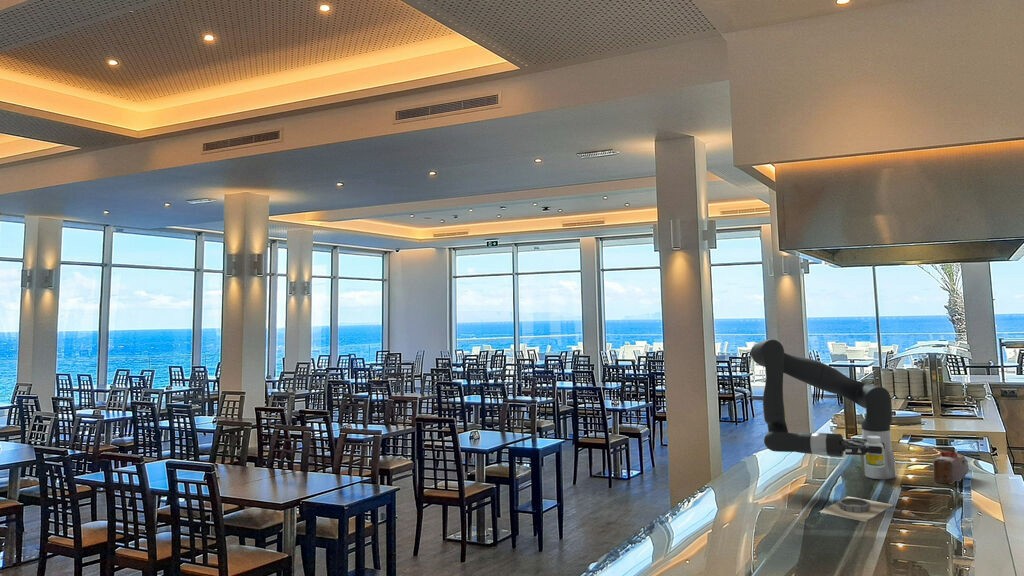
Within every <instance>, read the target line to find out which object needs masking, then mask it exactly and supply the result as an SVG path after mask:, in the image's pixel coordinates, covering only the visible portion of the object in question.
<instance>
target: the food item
mask: <svg viewBox="0 0 1024 576" xmlns="http://www.w3.org/2000/svg"><path fill="white" fill-rule="evenodd" d="M932 466H933V467H932V468H933V480H934V482H937V483H941V484H946V483H953V484H954V483H956V482H958V481H957V480H959V479H962V480H963V479H964V478H965V477H966V476H967V475H968V473H969V471H970V470H969V460H967V458H966V457H965V456H964V455H962V454H960V453H958V452H955V451H951V452H950V451H942V452H940V454H939V457H936V458H934V459H933V460H932ZM955 481H956V482H955Z"/></svg>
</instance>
